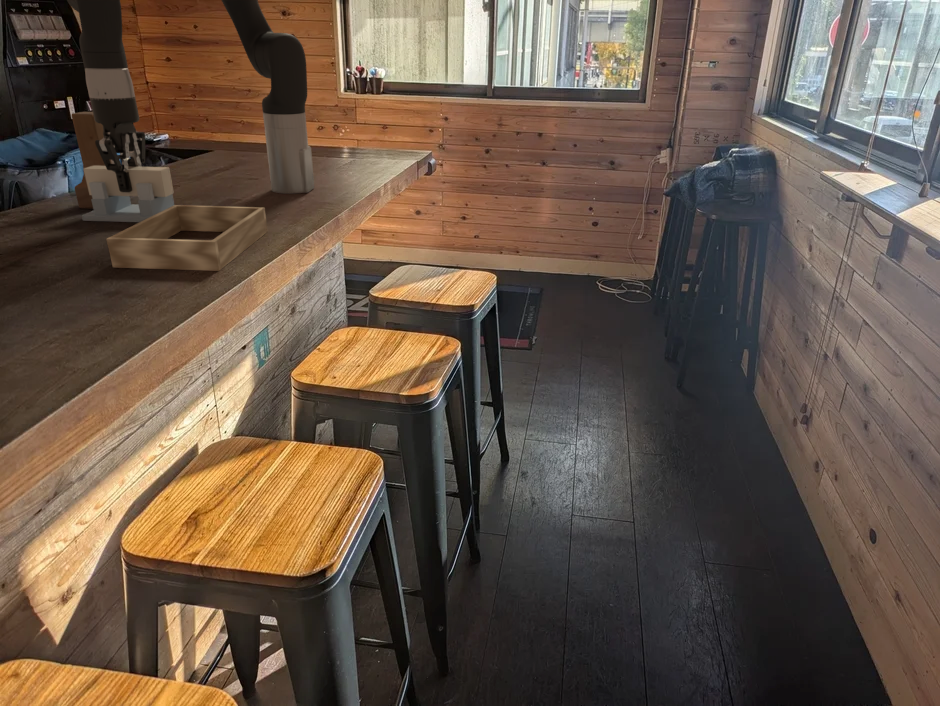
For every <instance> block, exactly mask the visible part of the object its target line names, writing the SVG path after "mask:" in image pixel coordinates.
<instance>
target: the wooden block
mask: <svg viewBox="0 0 940 706" xmlns="http://www.w3.org/2000/svg"><path fill="white" fill-rule="evenodd" d="M71 119H72V123H73V128H74V132H75V136H76V141H77V145H78V150H79V155H80V158H81V161H82V169H83V170H82V171H83V172H84V168H87V167H90V166H105V164H104V162H103V160H102V158H101V155H100V153H99V151H98V149H97V147H96V144H95V141H96V140H102V139H103V137H104V136H103V125H102V124H101V123H97V122H96V121H95V120H94V115H93V111H79V112H73V113H71ZM110 162H111V160H110ZM111 164H112V162H111ZM74 191H75V195H76V199H77V205H78V207H79V208H80V209H81V210H83V209H85V210H87V209H89V210H94V209H93V205H92V201H91V199H93V198H92V195H89V190H88V186H87V182H86V178H85V174H84V173H83V175H82V178H81V182H79V183H78V184H77V185H75V186H74Z"/></svg>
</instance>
